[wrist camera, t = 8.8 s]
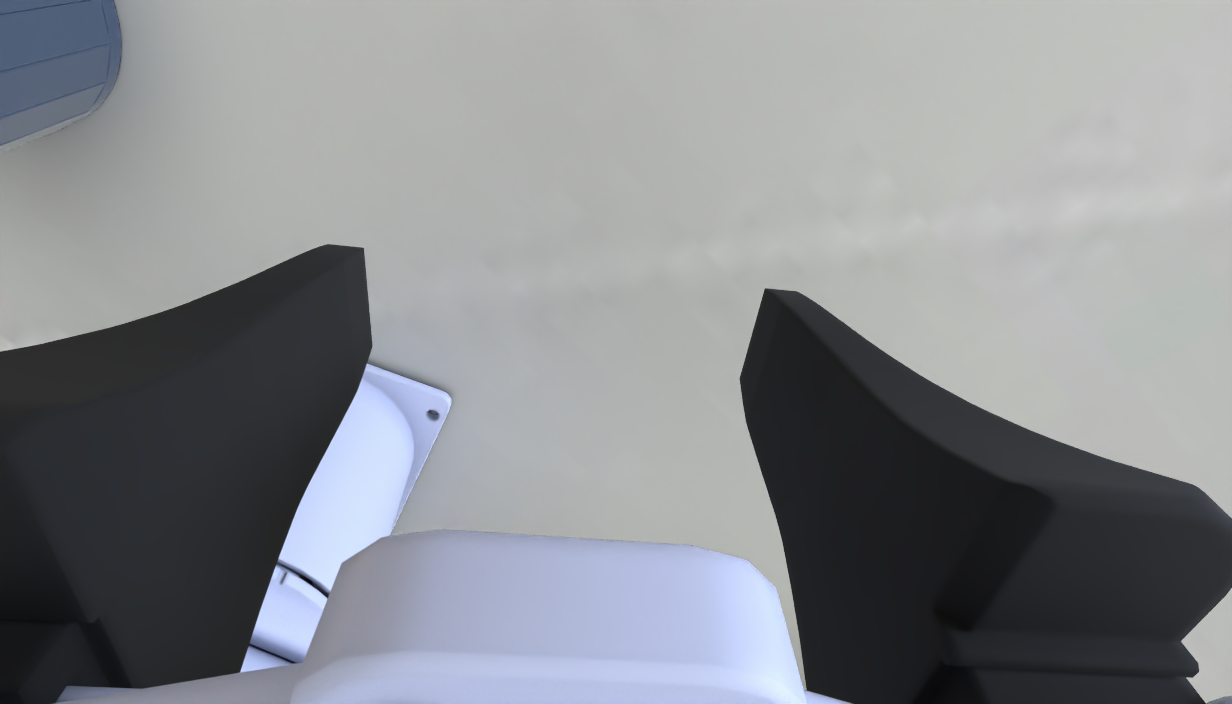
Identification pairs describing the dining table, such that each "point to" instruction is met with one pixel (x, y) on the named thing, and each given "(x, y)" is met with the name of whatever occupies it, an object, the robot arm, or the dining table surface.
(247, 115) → the dining table surface
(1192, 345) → the dining table surface
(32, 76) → the espresso cup
